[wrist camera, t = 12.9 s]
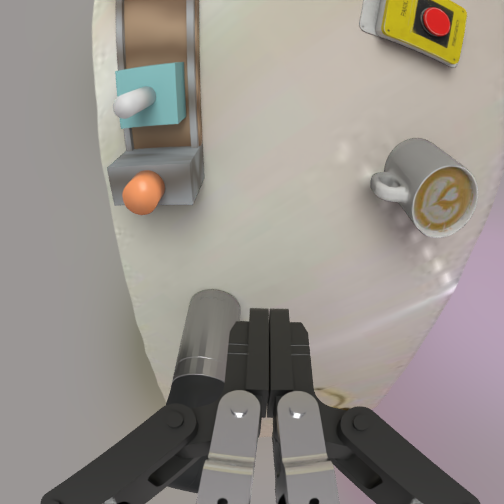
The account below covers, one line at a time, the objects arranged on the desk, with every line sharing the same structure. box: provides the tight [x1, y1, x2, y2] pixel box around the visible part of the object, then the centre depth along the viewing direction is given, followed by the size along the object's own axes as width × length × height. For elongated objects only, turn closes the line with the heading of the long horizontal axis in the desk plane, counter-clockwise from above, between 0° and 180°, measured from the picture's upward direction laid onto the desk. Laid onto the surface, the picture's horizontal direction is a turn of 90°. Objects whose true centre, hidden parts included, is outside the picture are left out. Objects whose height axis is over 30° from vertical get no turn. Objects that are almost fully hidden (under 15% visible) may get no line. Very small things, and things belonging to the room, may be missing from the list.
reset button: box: [122, 170, 165, 215], centre depth 32 cm, size 4×4×3 cm
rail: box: [107, 0, 204, 206], centre depth 29 cm, size 32×10×8 cm, turn 179°
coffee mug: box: [371, 138, 478, 238], centre depth 35 cm, size 13×10×10 cm
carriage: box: [113, 62, 186, 129], centre depth 29 cm, size 7×7×10 cm
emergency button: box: [359, 0, 467, 68], centre depth 25 cm, size 9×4×15 cm
